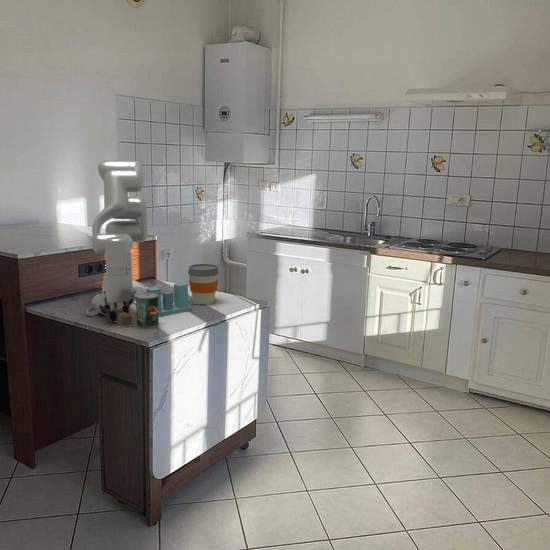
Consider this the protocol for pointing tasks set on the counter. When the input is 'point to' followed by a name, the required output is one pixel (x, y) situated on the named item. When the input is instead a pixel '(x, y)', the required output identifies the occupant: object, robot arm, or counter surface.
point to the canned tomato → (147, 309)
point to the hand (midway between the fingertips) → (118, 318)
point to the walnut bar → (122, 317)
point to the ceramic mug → (98, 306)
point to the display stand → (167, 299)
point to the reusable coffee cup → (203, 282)
